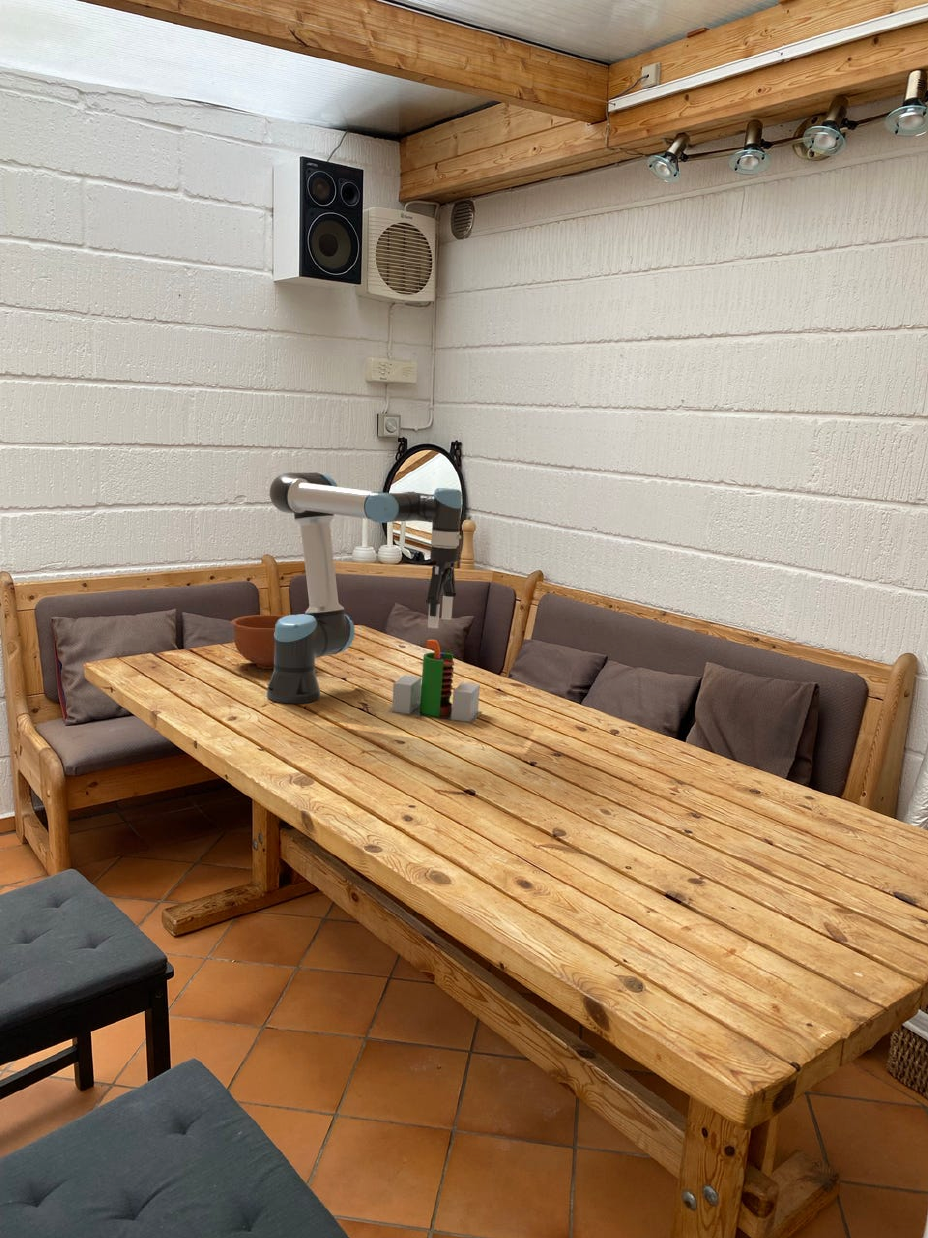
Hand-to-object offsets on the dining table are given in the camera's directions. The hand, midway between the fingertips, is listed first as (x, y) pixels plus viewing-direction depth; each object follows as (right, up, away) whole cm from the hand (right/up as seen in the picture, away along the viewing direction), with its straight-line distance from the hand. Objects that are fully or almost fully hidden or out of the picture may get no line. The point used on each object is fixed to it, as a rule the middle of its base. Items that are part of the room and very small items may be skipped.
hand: (439, 623), depth 261 cm
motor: (-1, -25, +5) cm, 25 cm away
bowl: (-57, -14, +50) cm, 77 cm away
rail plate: (-1, -26, +5) cm, 26 cm away
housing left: (-10, -24, +6) cm, 26 cm away
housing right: (+7, -25, +2) cm, 26 cm away
